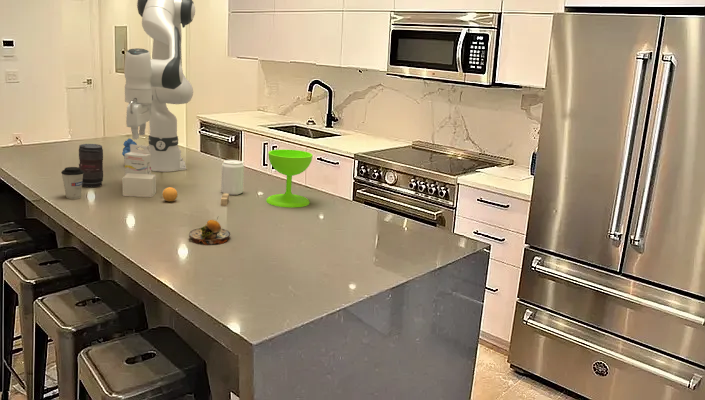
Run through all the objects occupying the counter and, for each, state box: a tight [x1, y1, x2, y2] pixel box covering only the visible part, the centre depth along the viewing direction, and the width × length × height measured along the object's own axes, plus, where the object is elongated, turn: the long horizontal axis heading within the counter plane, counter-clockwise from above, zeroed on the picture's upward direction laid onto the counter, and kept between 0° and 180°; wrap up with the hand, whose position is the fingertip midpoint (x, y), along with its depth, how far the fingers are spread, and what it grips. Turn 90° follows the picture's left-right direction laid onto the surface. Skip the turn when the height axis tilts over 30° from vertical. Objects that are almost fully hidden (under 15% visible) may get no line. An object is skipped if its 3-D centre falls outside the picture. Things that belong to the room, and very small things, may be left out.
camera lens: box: [78, 143, 104, 188], centre depth 219 cm, size 8×8×15 cm
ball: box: [162, 186, 178, 203], centre depth 207 cm, size 5×5×5 cm
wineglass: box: [265, 148, 313, 209], centre depth 218 cm, size 16×16×18 cm
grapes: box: [121, 138, 138, 160], centre depth 253 cm, size 12×7×12 cm, turn 49°
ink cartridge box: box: [124, 144, 152, 176], centre depth 226 cm, size 9×5×15 cm, turn 84°
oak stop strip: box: [220, 192, 230, 207], centre depth 211 cm, size 8×2×2 cm, turn 6°
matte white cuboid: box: [121, 173, 157, 198], centre depth 213 cm, size 7×10×7 cm
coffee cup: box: [61, 166, 84, 200], centre depth 203 cm, size 7×7×10 cm
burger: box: [188, 217, 231, 246], centre depth 173 cm, size 12×12×8 cm
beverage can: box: [220, 159, 245, 196], centre depth 224 cm, size 8×8×12 cm
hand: (138, 137), depth 209 cm, fingers open, 8 cm apart
